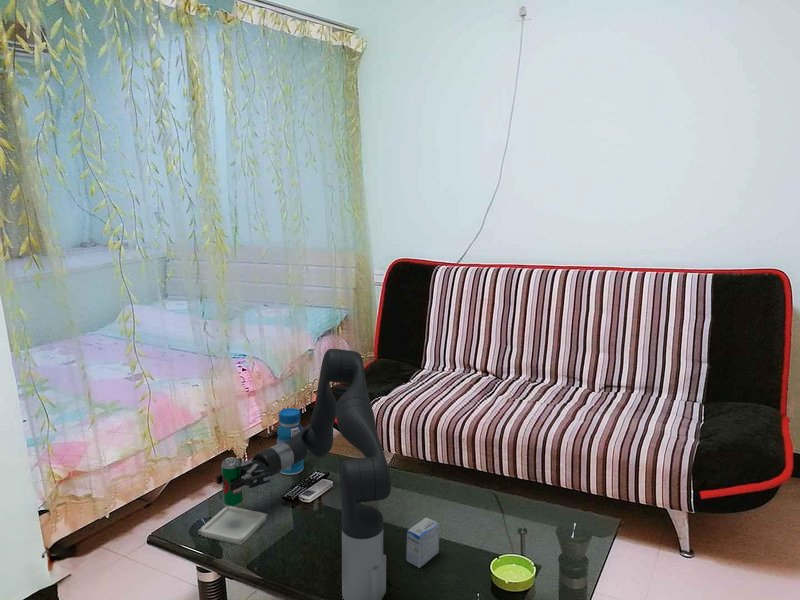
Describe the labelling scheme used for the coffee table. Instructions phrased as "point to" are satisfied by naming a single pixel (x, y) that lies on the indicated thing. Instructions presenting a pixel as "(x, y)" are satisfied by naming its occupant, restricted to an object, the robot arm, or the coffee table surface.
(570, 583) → the coffee table surface
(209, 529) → the tray
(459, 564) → the coffee table surface
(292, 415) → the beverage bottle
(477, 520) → the coffee table surface
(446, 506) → the coffee table surface
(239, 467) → the soda can
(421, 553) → the medicine box
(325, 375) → the robot arm
